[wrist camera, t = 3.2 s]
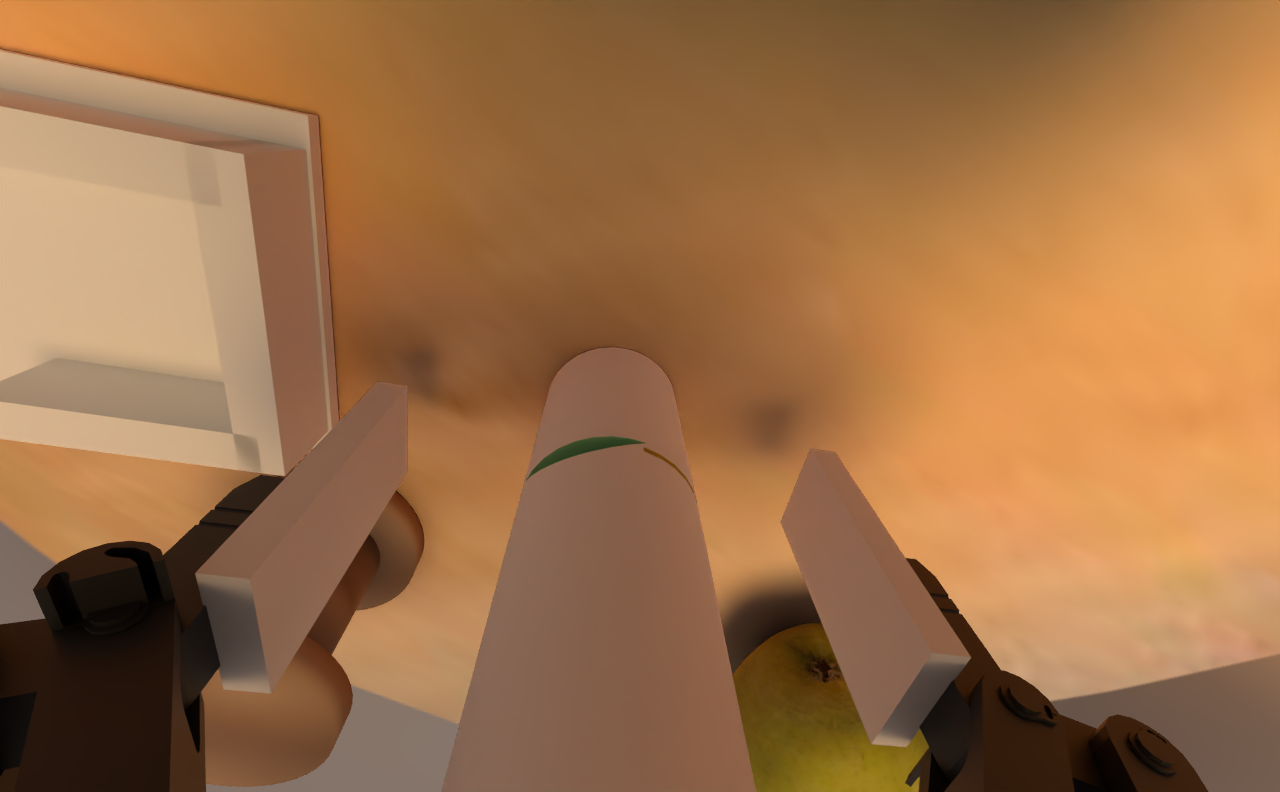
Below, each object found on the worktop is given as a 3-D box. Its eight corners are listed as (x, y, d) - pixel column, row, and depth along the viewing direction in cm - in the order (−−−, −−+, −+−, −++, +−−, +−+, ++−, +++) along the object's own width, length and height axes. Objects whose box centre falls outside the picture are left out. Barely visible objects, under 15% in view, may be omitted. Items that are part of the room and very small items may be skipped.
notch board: (-155, 16, 12) (-373, -15, 10) (318, 115, 13) (243, 113, 11) (-5, 394, 17) (-125, 446, 14) (340, 443, 18) (291, 499, 15)
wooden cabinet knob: (243, 454, 18) (43, 629, 12) (425, 478, 19) (327, 655, 12) (264, 580, 21) (110, 778, 14) (423, 598, 21) (341, 793, 15)
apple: (703, 719, 26) (735, 946, 19) (701, 585, 22) (742, 812, 14) (862, 708, 26) (954, 930, 19) (891, 572, 22) (1024, 792, 14)
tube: (698, 378, 17) (970, 1250, 4) (641, 476, 19) (693, 1316, 6) (576, 325, 16) (379, 1247, 3) (528, 434, 18) (264, 1327, 5)
